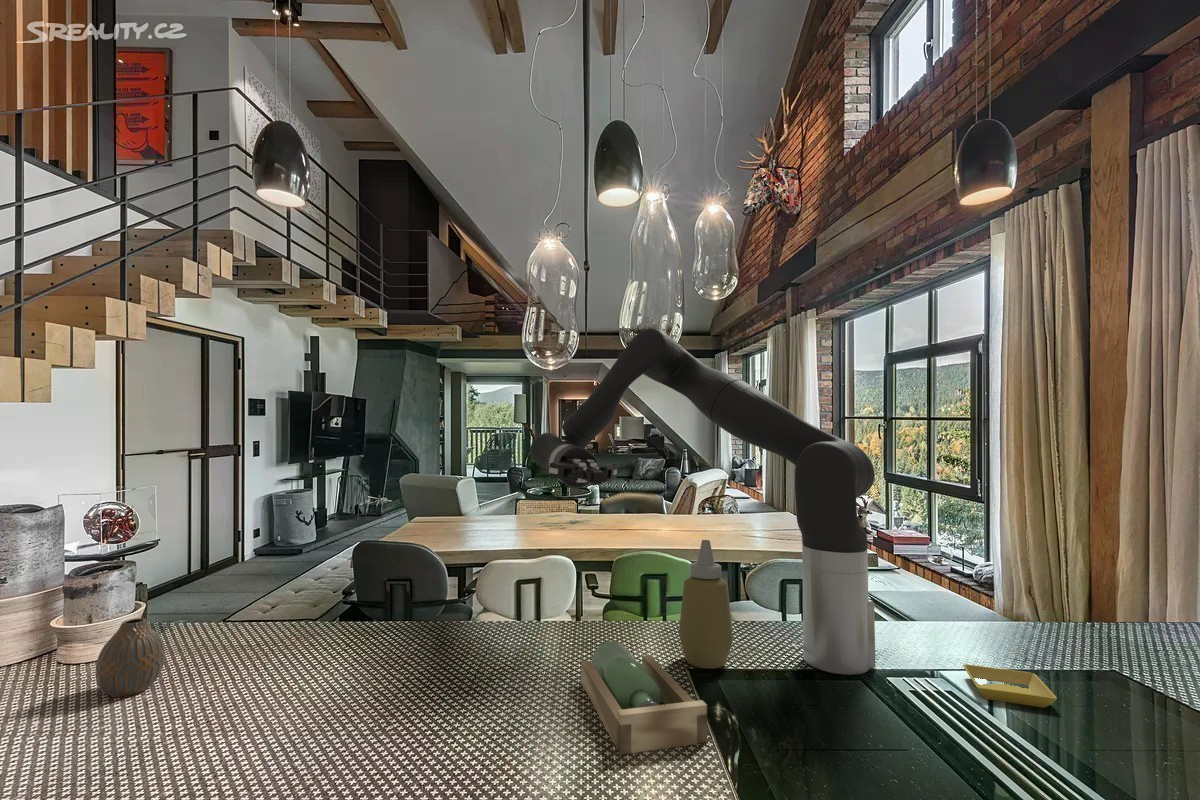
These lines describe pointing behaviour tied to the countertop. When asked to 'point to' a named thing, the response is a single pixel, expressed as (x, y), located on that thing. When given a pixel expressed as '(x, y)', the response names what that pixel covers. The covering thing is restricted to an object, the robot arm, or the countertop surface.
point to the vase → (130, 659)
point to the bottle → (625, 676)
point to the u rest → (648, 713)
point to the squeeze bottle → (705, 613)
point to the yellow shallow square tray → (1032, 696)
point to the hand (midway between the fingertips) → (598, 478)
